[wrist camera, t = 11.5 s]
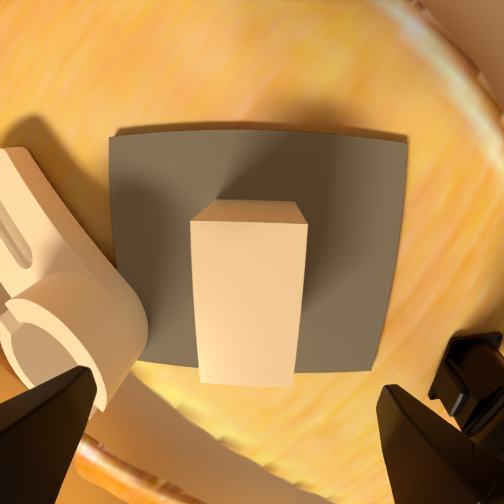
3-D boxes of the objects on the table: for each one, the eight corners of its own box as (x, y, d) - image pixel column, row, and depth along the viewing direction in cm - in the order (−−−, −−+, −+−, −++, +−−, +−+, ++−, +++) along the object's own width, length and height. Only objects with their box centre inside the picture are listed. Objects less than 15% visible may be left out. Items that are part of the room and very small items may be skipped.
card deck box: (286, 325, 20) (292, 387, 14) (217, 322, 20) (200, 382, 14) (294, 201, 17) (307, 224, 12) (215, 199, 18) (190, 220, 12)
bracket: (172, 330, 20) (134, 395, 14) (108, 377, 22) (71, 430, 16) (13, 127, 17) (-52, 130, 10) (-24, 203, 19) (-77, 221, 13)
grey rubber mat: (403, 143, 16) (407, 143, 16) (369, 365, 21) (371, 370, 21) (113, 137, 17) (108, 137, 17) (135, 355, 22) (132, 359, 21)
